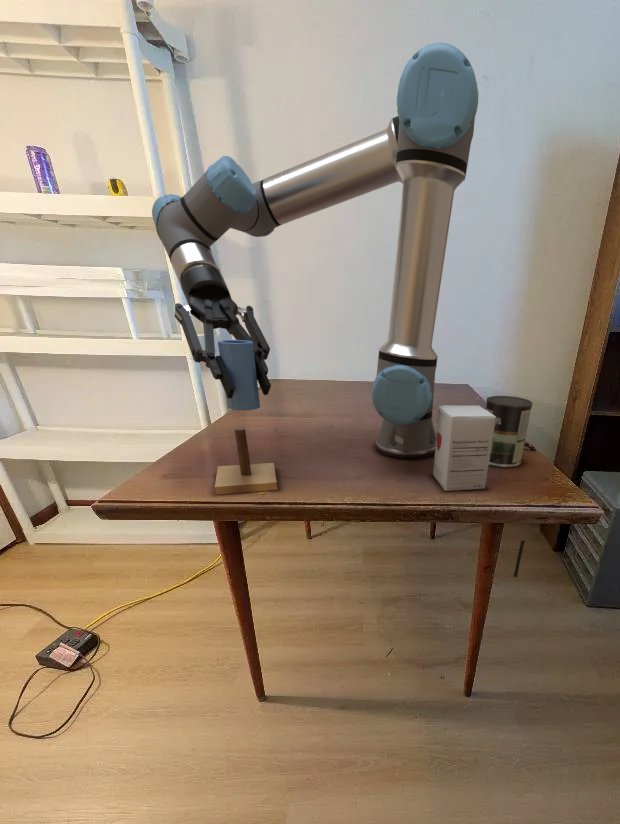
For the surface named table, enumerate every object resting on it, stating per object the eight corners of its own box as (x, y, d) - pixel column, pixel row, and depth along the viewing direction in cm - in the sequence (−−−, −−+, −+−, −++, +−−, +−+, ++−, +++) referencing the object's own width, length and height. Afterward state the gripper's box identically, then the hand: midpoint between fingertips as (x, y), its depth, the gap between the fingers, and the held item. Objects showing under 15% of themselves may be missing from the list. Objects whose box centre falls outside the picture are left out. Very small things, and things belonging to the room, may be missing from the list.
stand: (274, 469, 91) (268, 420, 86) (277, 489, 82) (271, 435, 77) (219, 473, 88) (209, 422, 83) (216, 494, 79) (205, 438, 74)
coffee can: (493, 469, 97) (502, 406, 90) (470, 455, 106) (478, 396, 99) (530, 465, 101) (542, 404, 94) (506, 451, 109) (515, 394, 102)
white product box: (431, 475, 93) (437, 404, 85) (470, 473, 94) (479, 404, 87) (444, 491, 85) (451, 415, 77) (486, 489, 87) (497, 415, 79)
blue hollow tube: (259, 403, 82) (252, 340, 76) (260, 410, 77) (252, 343, 72) (228, 403, 80) (218, 339, 75) (227, 410, 75) (216, 343, 70)
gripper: (248, 299, 85) (293, 399, 83) (144, 295, 75) (191, 410, 72) (256, 267, 79) (304, 374, 77) (143, 258, 69) (195, 382, 66)
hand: (249, 391), depth 74 cm, fingers closed on blue hollow tube, 6 cm apart
